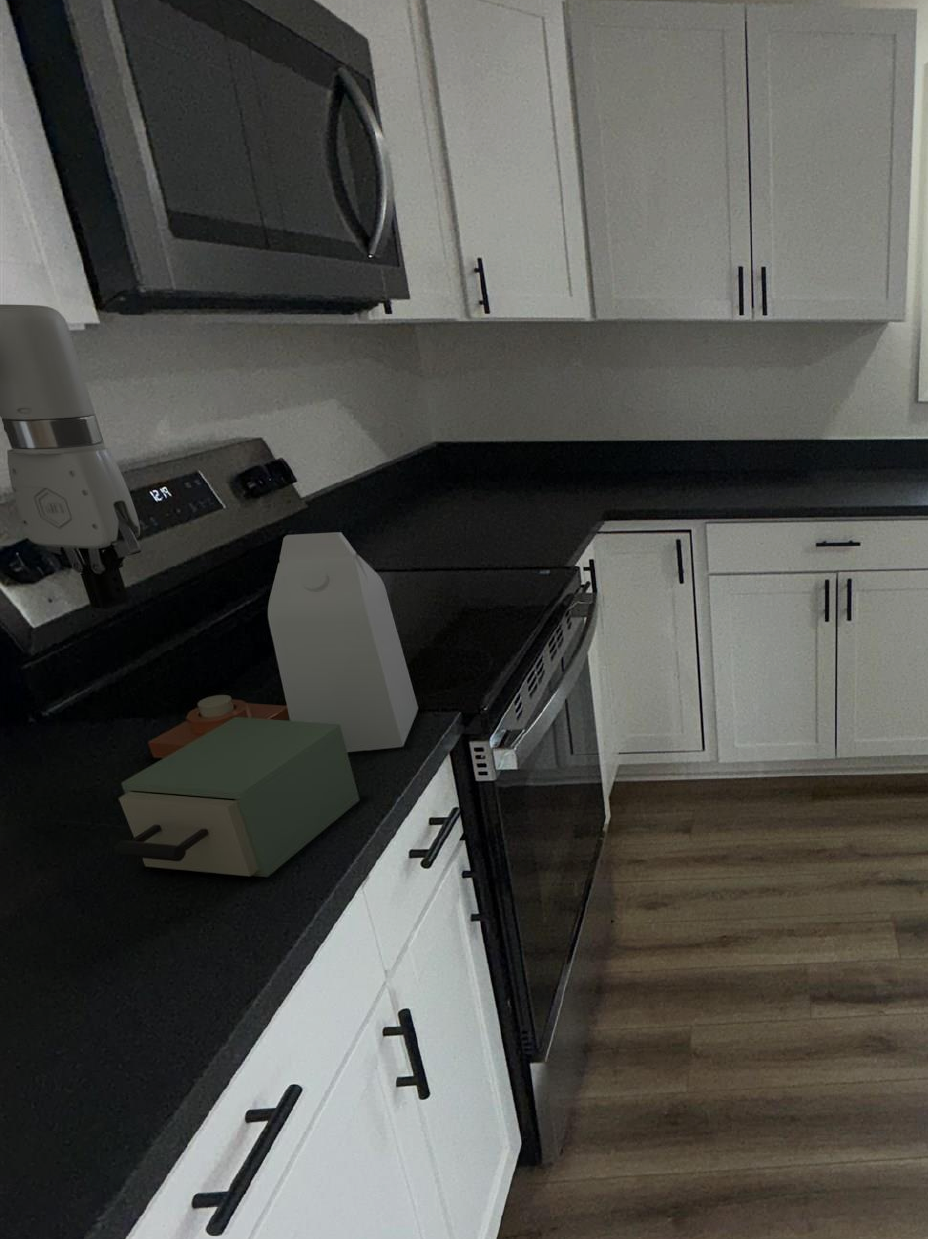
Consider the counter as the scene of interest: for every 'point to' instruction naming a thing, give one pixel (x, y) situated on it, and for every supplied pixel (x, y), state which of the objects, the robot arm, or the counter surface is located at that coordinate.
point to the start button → (215, 706)
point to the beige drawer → (187, 833)
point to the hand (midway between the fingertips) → (110, 604)
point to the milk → (339, 643)
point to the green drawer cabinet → (264, 780)
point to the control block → (211, 725)
